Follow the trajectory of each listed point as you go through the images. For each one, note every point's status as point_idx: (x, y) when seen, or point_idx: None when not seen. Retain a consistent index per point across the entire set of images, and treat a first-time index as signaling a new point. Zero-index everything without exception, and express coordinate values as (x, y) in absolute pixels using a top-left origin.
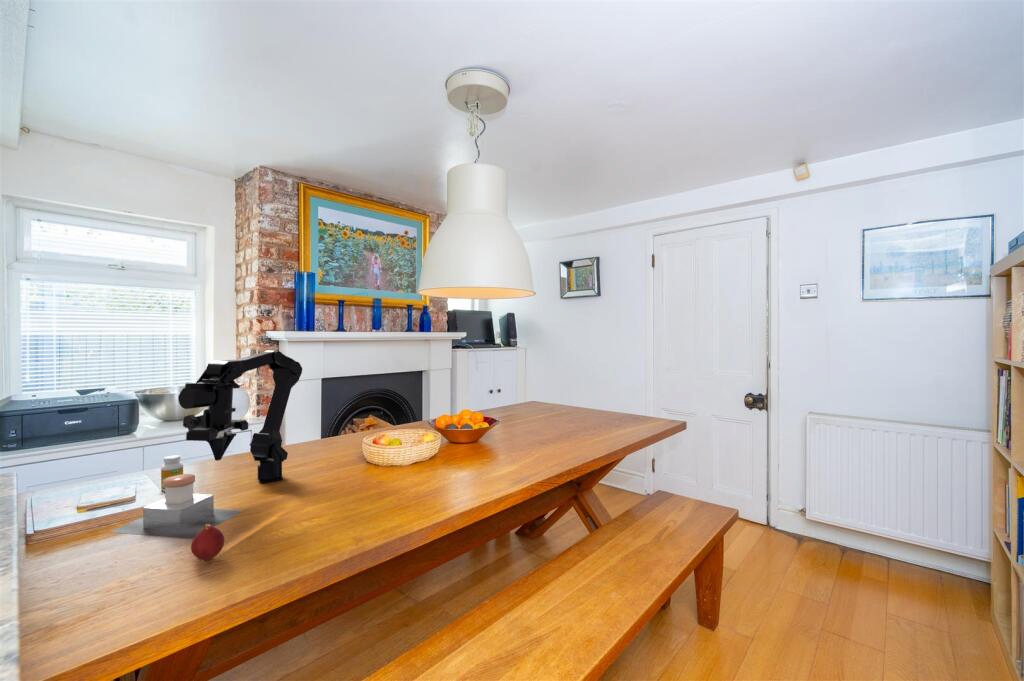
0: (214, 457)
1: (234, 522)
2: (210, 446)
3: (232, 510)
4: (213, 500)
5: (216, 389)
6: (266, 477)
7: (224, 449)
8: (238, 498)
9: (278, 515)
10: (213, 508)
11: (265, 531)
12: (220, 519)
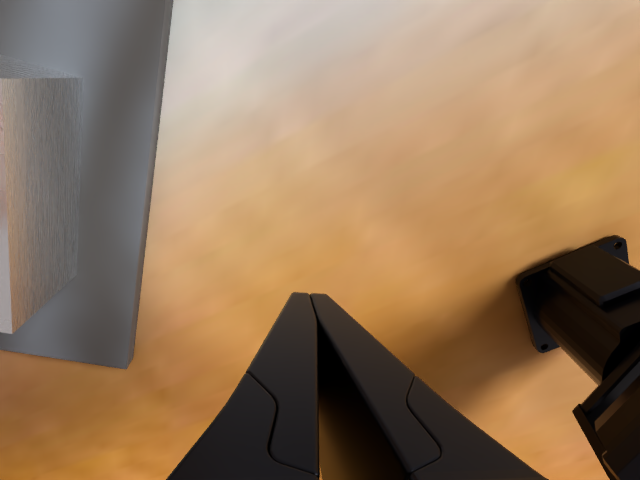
0: (285, 306)
1: (55, 360)
2: (211, 423)
3: (125, 330)
4: (34, 313)
5: None
6: (545, 306)
7: (322, 471)
8: (322, 262)
9: (138, 458)
10: (59, 289)
11: (5, 470)
12: (23, 329)
